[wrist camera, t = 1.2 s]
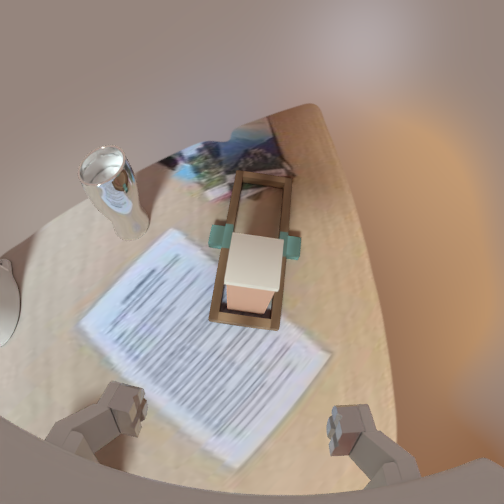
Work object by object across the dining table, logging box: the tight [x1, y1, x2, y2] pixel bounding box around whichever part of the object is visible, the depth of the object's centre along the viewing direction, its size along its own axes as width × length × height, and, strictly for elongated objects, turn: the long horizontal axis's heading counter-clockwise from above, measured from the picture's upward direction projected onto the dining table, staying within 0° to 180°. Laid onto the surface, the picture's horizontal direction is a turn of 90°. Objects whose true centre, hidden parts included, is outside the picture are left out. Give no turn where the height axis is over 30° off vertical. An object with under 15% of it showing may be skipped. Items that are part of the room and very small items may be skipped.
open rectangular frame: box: [208, 170, 301, 331], centre depth 44 cm, size 13×25×2 cm, turn 173°
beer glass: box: [78, 145, 149, 241], centre depth 38 cm, size 7×7×15 cm
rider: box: [224, 232, 284, 315], centre depth 36 cm, size 5×5×13 cm
